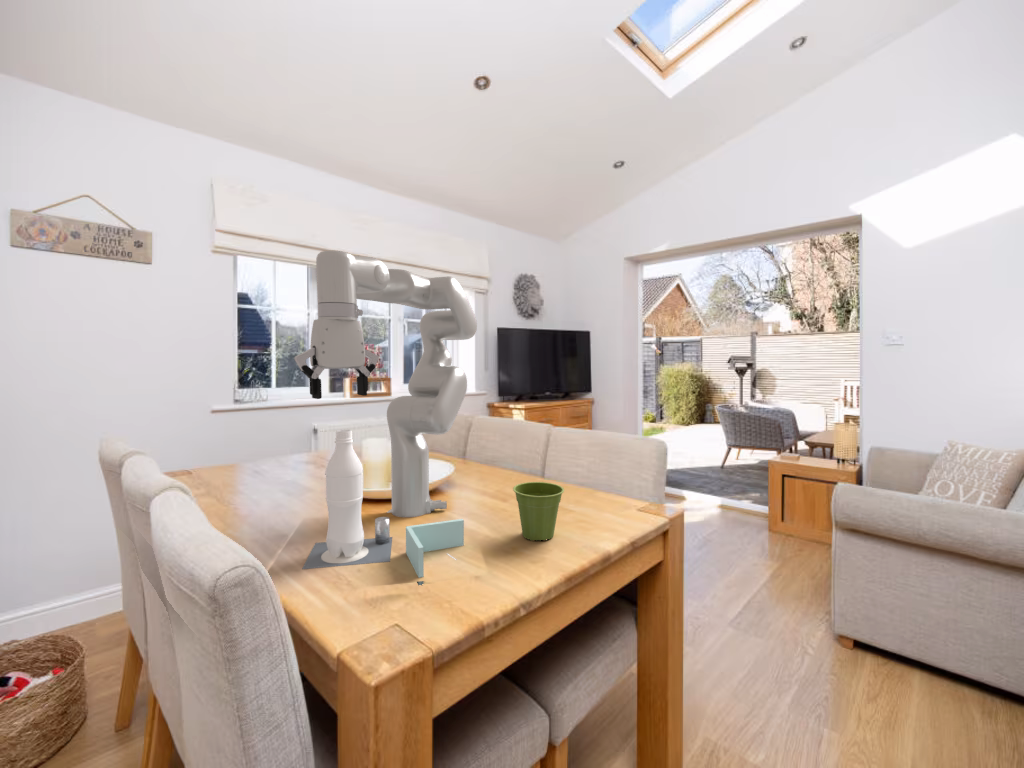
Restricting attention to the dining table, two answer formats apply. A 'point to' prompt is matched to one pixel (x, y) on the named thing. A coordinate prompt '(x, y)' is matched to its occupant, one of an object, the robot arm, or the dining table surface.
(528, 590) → the dining table surface
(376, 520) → the metal post
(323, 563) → the board
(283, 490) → the dining table surface
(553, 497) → the plant pot
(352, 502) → the water bottle
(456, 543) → the right angle wall
